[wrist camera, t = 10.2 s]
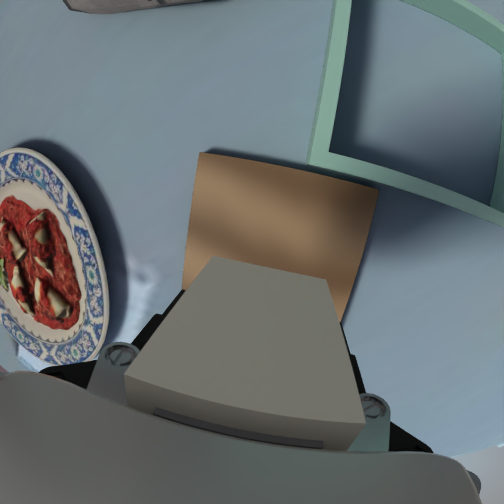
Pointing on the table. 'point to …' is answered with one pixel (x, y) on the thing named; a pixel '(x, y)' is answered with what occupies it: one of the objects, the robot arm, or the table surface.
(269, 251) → the walnut board
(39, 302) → the ceramic plate
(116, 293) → the table surface
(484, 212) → the bin
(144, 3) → the small grey backpack
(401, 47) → the table surface
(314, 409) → the block
